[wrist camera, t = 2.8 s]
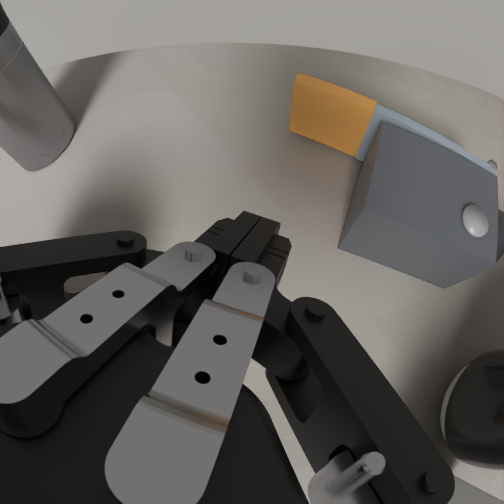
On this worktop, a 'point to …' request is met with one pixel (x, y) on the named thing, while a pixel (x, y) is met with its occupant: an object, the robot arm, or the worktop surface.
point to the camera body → (424, 210)
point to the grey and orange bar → (354, 120)
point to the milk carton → (471, 494)
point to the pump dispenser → (476, 412)
